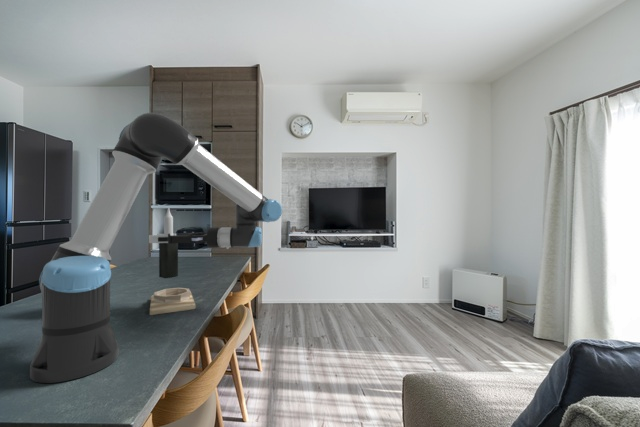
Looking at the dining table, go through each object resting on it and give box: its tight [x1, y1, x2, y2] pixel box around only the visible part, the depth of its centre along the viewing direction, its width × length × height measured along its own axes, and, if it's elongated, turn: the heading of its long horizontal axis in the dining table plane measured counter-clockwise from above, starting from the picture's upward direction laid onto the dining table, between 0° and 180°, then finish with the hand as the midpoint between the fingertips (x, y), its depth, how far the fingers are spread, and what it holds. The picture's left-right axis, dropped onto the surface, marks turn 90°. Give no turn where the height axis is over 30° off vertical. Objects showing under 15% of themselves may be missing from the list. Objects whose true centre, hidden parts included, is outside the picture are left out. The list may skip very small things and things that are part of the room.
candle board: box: [149, 287, 196, 316], centre depth 109 cm, size 20×14×4 cm
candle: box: [158, 207, 179, 279], centre depth 106 cm, size 5×5×25 cm
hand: (153, 238), depth 106 cm, fingers closed on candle, 6 cm apart
